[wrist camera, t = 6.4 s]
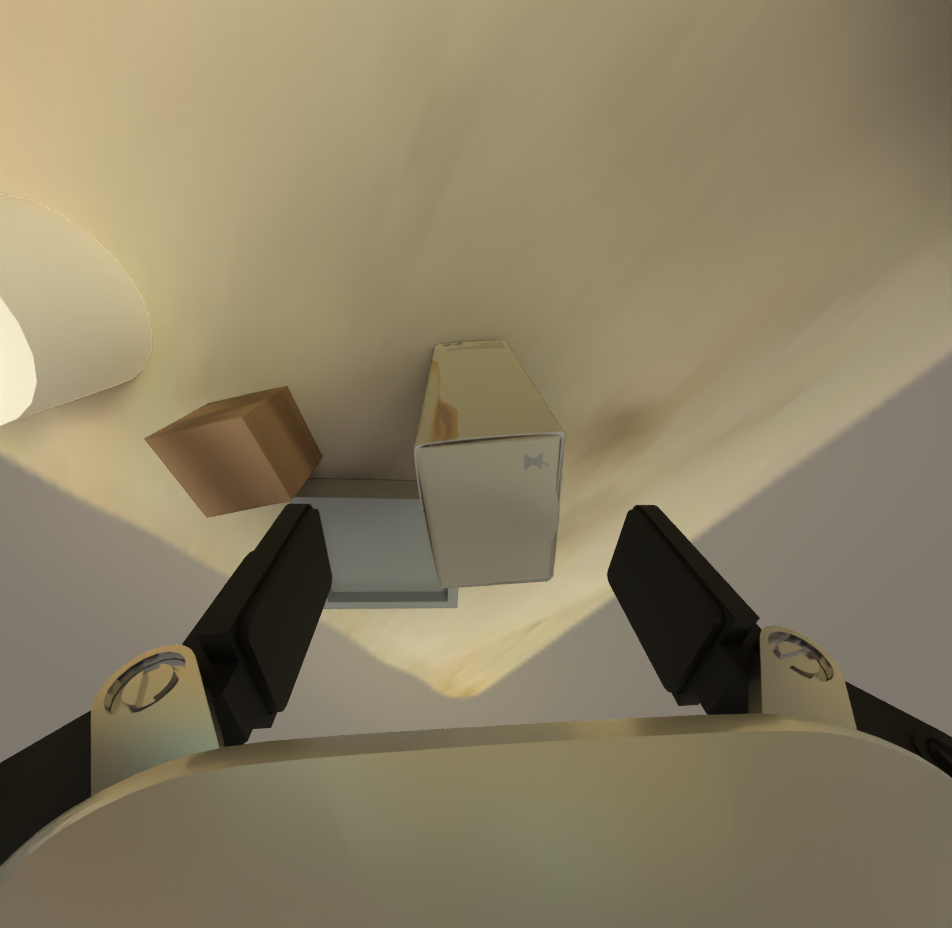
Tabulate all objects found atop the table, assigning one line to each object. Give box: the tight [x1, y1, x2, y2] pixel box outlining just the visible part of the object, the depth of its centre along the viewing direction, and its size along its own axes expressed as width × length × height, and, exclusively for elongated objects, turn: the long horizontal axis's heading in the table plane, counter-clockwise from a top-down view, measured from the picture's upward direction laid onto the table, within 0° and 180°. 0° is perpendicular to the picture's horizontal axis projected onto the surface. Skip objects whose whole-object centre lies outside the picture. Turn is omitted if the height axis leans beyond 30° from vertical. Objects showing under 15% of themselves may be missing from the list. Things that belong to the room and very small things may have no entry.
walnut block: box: [145, 386, 322, 518], centre depth 19 cm, size 5×5×5 cm
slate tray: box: [291, 478, 458, 609], centre depth 26 cm, size 11×11×2 cm
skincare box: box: [413, 340, 565, 588], centre depth 16 cm, size 6×4×12 cm
